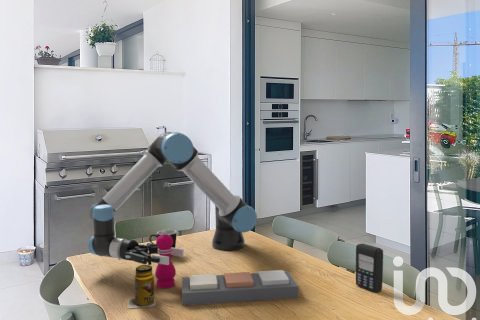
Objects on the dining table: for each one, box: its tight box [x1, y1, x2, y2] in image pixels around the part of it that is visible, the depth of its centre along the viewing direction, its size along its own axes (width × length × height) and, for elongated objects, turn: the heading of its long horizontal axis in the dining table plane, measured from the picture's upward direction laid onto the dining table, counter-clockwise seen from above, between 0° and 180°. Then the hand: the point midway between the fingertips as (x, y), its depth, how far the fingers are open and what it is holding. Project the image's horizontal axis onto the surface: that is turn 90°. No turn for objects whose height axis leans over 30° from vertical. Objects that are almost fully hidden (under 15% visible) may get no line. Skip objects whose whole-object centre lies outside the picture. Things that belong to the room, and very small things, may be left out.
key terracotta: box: [223, 271, 254, 288], centre depth 147 cm, size 9×9×3 cm
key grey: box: [257, 269, 289, 286], centre depth 148 cm, size 9×9×3 cm
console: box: [181, 270, 299, 306], centre depth 147 cm, size 14×38×4 cm, turn 97°
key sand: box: [189, 273, 218, 290], centre depth 145 cm, size 9×9×3 cm
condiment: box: [128, 264, 157, 309], centre depth 140 cm, size 7×8×12 cm
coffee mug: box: [148, 229, 178, 257], centre depth 190 cm, size 12×9×10 cm
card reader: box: [355, 243, 384, 293], centre depth 149 cm, size 9×4×15 cm, turn 37°
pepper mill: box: [154, 229, 176, 289], centre depth 154 cm, size 7×7×20 cm
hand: (175, 256), depth 152 cm, fingers open, 9 cm apart
